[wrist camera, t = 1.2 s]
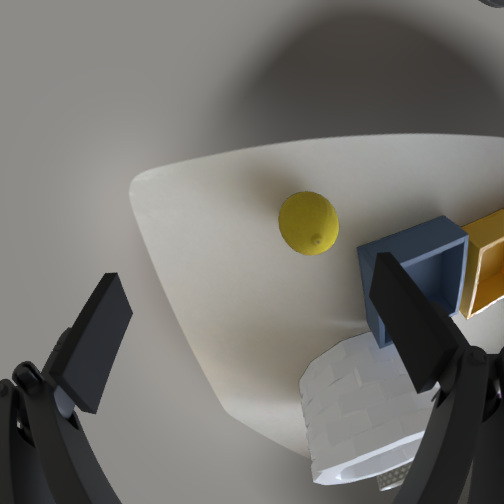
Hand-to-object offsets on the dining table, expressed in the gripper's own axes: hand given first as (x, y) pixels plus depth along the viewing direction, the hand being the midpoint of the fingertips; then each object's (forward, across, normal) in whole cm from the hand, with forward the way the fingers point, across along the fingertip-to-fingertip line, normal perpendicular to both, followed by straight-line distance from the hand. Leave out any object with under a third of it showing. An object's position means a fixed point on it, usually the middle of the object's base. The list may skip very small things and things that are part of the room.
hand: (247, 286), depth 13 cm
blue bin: (+17, +21, -13) cm, 30 cm away
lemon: (+17, +6, -3) cm, 18 cm away
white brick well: (+17, +18, -34) cm, 42 cm away
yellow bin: (+17, +37, -11) cm, 42 cm away
